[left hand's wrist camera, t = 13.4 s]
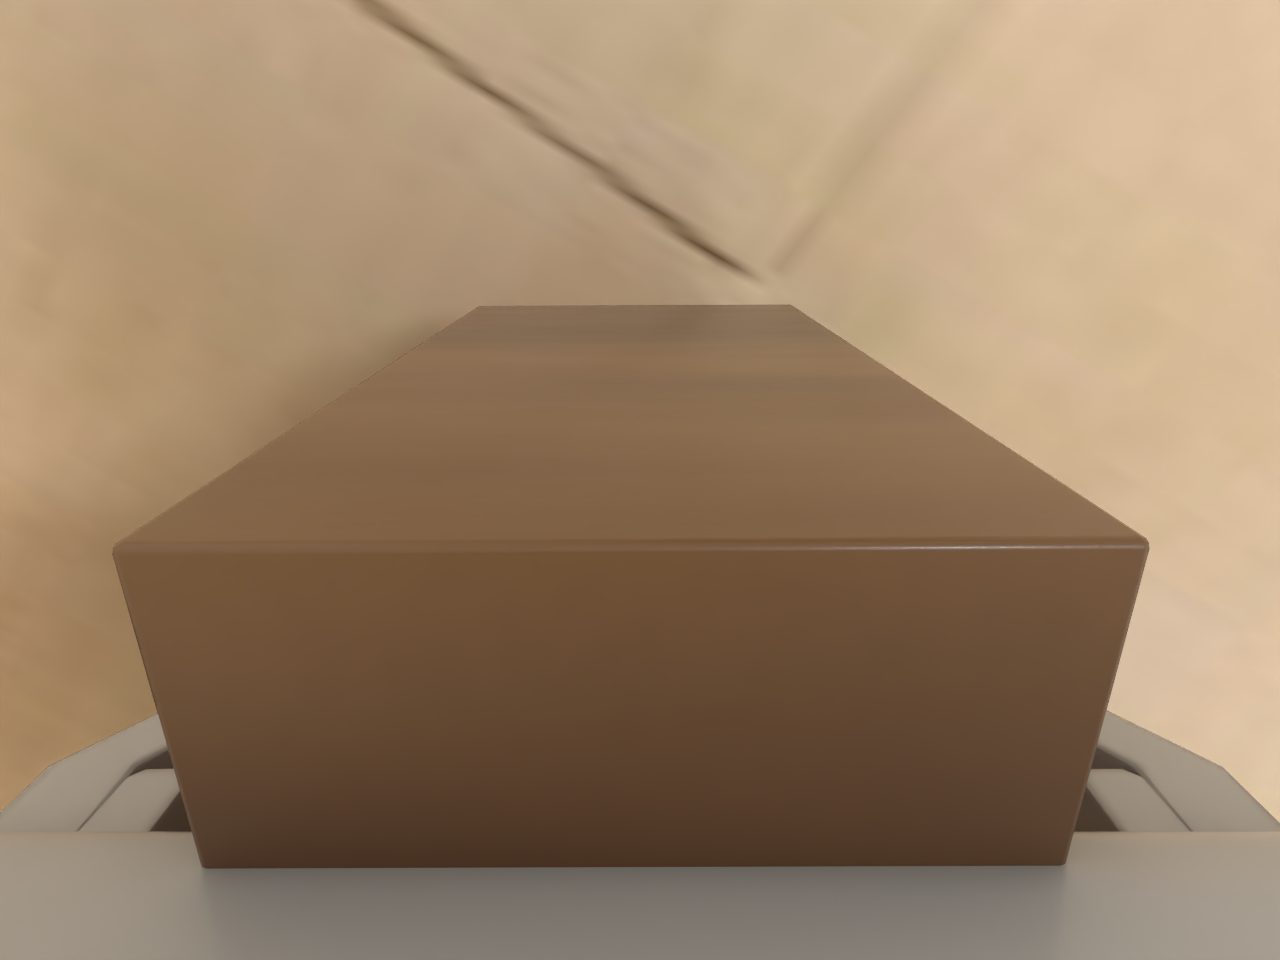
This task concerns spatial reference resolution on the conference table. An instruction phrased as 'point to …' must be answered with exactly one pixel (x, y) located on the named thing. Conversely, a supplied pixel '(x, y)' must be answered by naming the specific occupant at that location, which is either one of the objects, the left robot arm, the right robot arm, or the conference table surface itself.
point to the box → (632, 613)
